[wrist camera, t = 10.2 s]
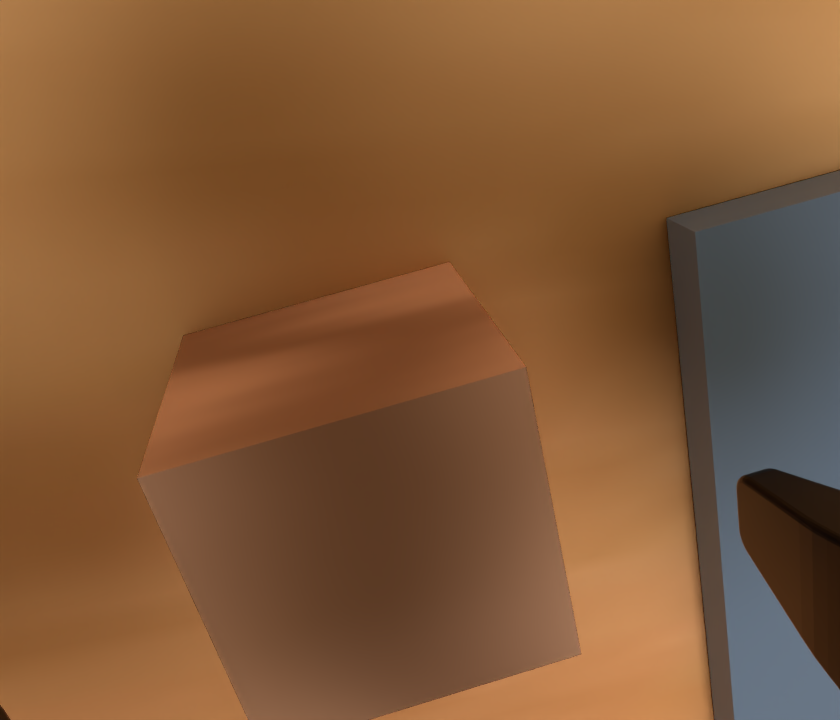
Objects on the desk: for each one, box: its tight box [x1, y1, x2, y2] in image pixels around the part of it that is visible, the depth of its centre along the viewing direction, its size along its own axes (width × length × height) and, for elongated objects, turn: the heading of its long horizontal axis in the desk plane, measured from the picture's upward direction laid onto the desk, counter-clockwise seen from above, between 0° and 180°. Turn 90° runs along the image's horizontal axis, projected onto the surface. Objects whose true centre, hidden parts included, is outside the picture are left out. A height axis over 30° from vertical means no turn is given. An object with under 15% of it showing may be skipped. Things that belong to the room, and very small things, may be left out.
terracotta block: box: [137, 262, 581, 720], centre depth 12 cm, size 4×4×4 cm
